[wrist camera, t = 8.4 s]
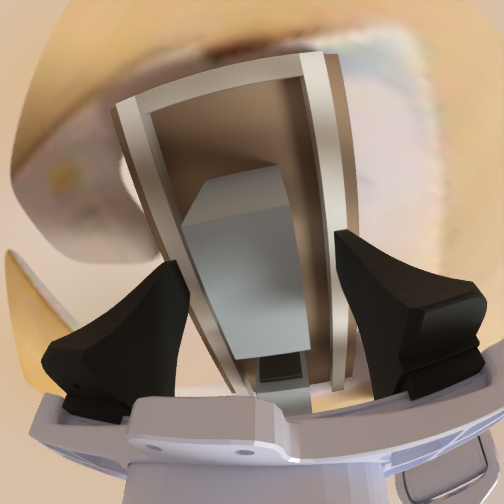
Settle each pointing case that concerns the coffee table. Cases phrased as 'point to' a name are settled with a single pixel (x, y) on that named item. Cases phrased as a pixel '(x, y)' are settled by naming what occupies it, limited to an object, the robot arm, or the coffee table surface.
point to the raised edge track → (249, 158)
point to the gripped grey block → (250, 262)
